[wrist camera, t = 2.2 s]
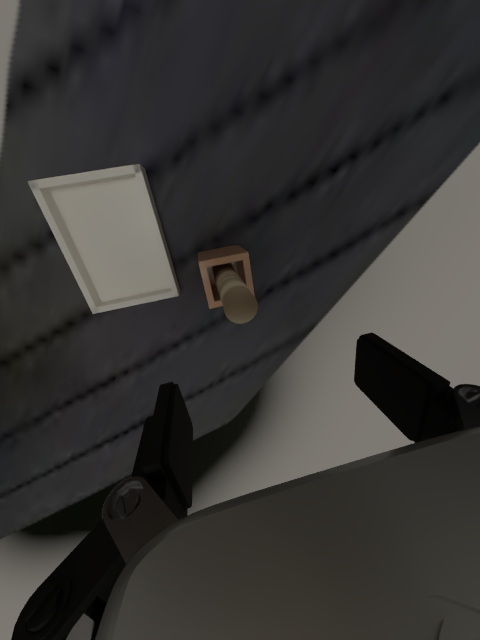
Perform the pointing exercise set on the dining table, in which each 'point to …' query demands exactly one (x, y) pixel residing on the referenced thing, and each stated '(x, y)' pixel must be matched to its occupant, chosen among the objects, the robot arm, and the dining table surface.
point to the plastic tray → (109, 235)
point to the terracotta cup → (217, 257)
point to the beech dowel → (234, 294)
